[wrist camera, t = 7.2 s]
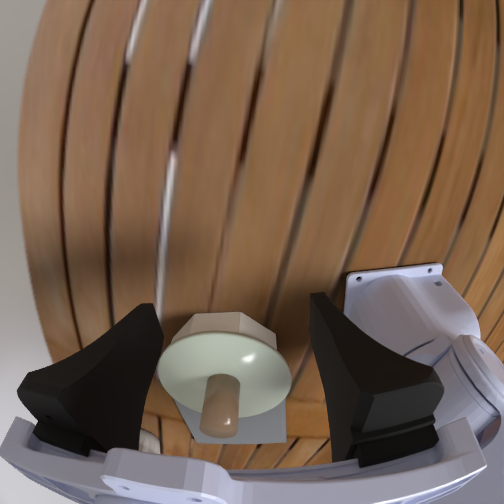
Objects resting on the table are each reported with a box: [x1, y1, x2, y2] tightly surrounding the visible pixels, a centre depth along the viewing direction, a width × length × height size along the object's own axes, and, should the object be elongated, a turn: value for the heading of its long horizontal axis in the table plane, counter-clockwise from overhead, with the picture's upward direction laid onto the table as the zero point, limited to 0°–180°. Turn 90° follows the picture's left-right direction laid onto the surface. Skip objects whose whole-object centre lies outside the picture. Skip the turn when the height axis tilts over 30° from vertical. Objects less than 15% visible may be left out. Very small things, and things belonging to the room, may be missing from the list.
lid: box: [158, 331, 291, 439], centre depth 22 cm, size 12×12×6 cm
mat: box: [173, 398, 286, 444], centre depth 33 cm, size 13×13×1 cm
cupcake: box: [139, 429, 160, 454], centre depth 32 cm, size 9×9×10 cm
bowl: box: [171, 312, 277, 350], centre depth 26 cm, size 10×10×3 cm
